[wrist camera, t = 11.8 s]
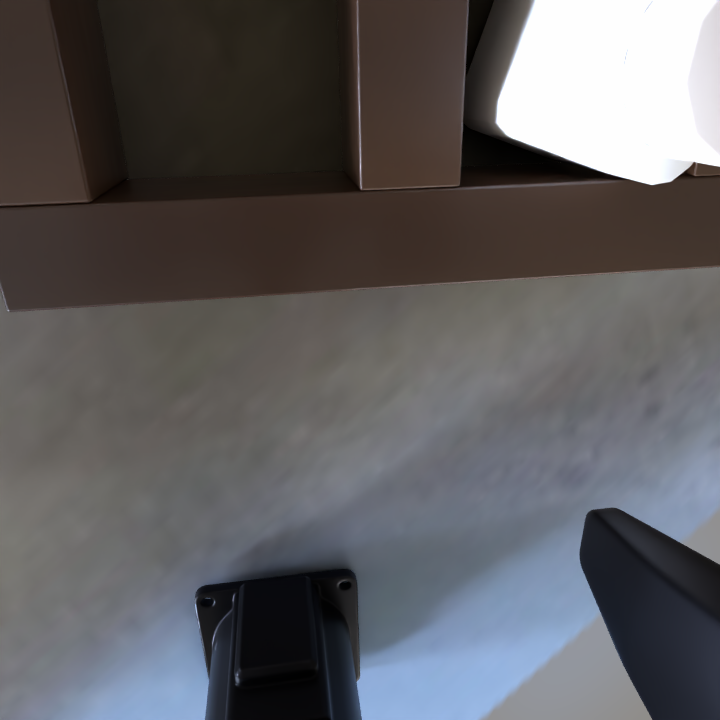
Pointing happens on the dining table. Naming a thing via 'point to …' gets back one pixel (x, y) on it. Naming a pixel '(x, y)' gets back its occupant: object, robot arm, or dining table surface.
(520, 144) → the salt shaker
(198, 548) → the dining table surface
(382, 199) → the stand
